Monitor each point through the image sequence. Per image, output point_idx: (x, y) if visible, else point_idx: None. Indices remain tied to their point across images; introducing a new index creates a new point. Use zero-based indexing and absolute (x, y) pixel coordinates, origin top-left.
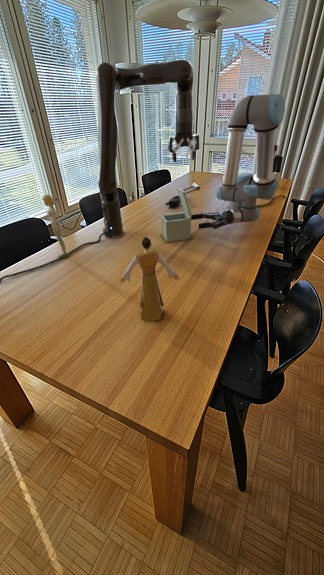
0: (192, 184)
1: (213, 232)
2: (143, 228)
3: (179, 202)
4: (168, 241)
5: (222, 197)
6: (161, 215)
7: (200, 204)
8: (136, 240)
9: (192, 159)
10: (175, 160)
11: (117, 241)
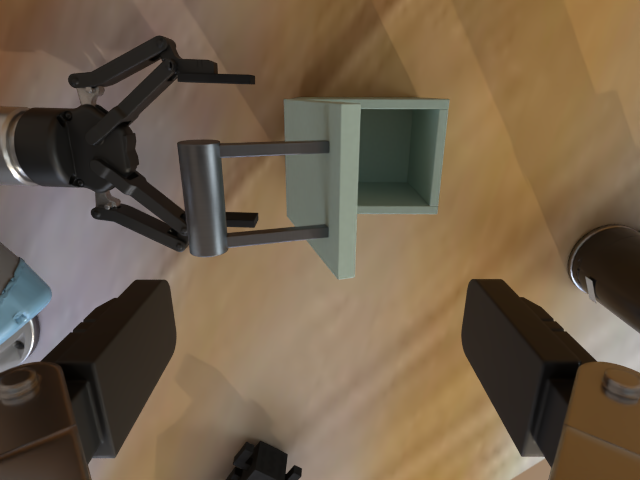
0: (220, 244)
1: (168, 127)
2: (465, 284)
3: (231, 475)
4: (410, 97)
5: (17, 261)
6: (436, 211)
7: (135, 452)
8: (541, 167)
9: (160, 280)
10: (500, 284)
11: (622, 187)
